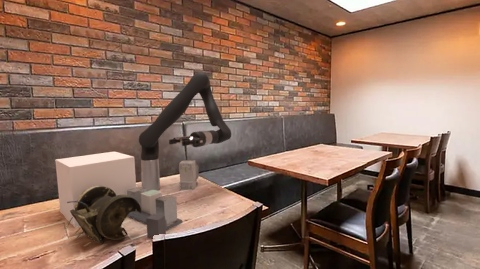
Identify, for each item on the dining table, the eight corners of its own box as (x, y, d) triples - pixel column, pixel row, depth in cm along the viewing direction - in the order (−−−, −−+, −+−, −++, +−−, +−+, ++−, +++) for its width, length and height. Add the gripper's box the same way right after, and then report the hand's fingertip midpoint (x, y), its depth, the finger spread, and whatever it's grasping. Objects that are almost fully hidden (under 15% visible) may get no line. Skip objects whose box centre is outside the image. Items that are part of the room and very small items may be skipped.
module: (142, 217, 109) (140, 193, 108) (154, 212, 114) (153, 189, 113) (150, 220, 106) (149, 195, 105) (162, 215, 111) (161, 191, 110)
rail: (124, 215, 114) (123, 190, 112) (142, 208, 121) (141, 185, 120) (164, 231, 99) (163, 202, 98) (182, 222, 106) (181, 195, 105)
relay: (147, 236, 95) (146, 218, 94) (154, 231, 99) (153, 213, 98) (158, 239, 93) (158, 220, 93) (165, 233, 97) (164, 215, 96)
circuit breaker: (199, 182, 160) (198, 158, 158) (193, 190, 146) (192, 163, 144) (187, 182, 161) (186, 158, 159) (179, 189, 147) (178, 163, 145)
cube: (117, 198, 136) (114, 151, 133) (137, 209, 121) (134, 156, 118) (60, 213, 117) (55, 159, 115) (75, 228, 103) (69, 167, 100)
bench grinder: (122, 208, 113) (96, 171, 104) (151, 219, 98) (124, 177, 90) (77, 246, 99) (43, 207, 91) (103, 266, 85) (66, 222, 77)
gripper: (190, 130, 135) (164, 133, 122) (211, 131, 127) (186, 135, 113) (191, 145, 136) (165, 149, 122) (212, 147, 128) (187, 152, 114)
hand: (175, 142), depth 118 cm, fingers open, 8 cm apart
